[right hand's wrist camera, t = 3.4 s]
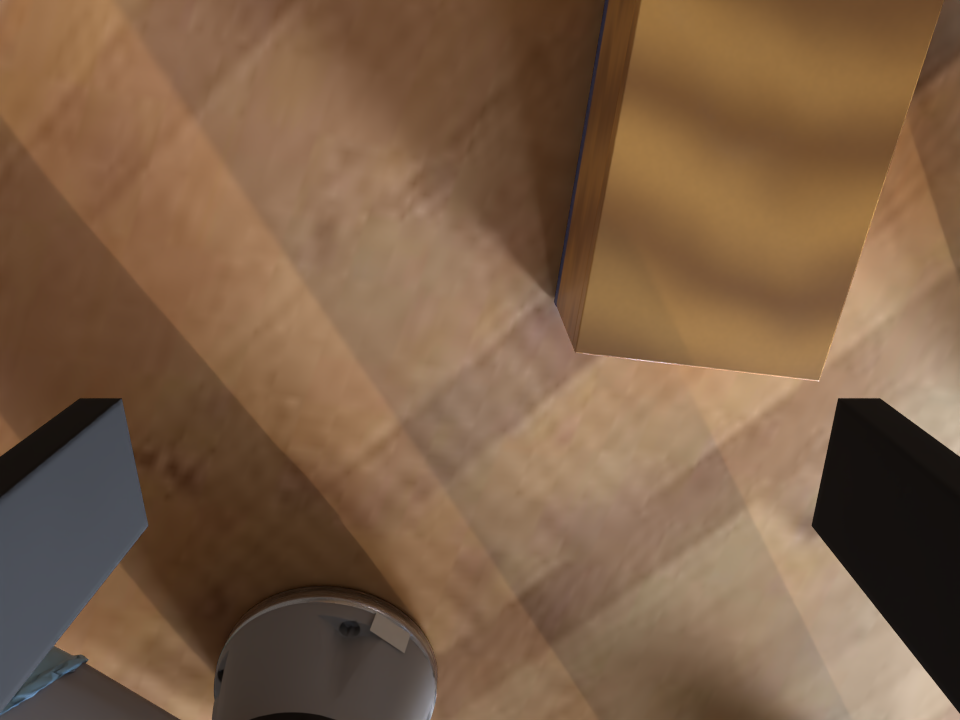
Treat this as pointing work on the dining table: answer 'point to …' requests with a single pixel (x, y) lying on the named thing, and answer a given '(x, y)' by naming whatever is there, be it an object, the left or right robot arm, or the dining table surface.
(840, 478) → the right robot arm
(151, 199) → the dining table surface
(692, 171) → the cabinet
